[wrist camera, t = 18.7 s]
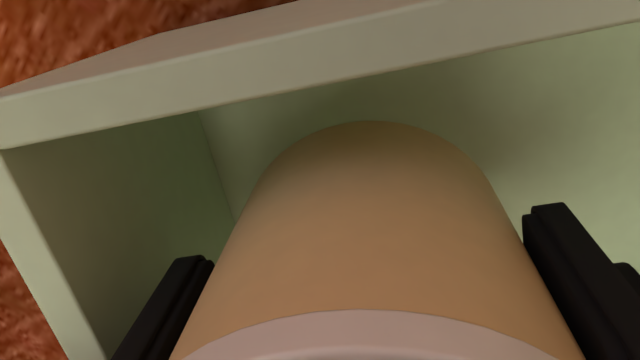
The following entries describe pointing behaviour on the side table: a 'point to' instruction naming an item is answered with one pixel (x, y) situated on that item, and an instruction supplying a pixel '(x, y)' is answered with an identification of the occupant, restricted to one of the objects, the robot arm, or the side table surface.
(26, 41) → the side table surface
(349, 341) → the paper cup
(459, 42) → the bin
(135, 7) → the side table surface
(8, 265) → the side table surface
